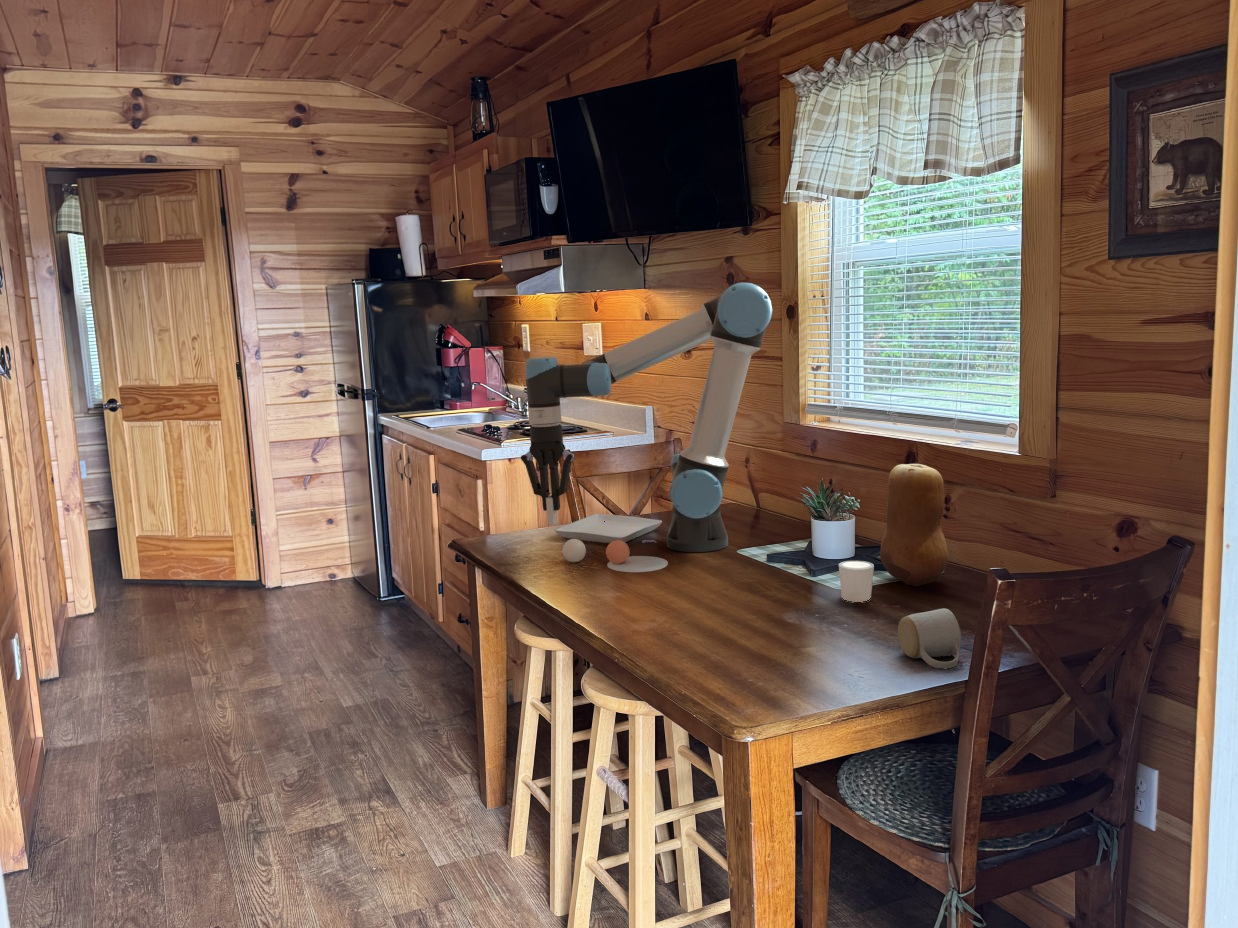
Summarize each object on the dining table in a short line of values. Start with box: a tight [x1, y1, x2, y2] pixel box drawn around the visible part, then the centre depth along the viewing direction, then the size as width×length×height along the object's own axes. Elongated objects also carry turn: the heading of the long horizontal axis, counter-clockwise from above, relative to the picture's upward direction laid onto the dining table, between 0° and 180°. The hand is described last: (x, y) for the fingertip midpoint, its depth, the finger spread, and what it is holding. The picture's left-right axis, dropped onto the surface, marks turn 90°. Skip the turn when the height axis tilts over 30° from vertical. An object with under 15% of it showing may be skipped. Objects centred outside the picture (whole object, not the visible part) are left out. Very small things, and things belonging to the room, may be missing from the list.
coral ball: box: [605, 540, 631, 564], centre depth 232 cm, size 6×6×6 cm
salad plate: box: [554, 513, 663, 545], centre depth 261 cm, size 21×21×3 cm
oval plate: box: [607, 555, 669, 573], centre depth 231 cm, size 14×14×1 cm
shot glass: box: [838, 560, 875, 603], centre depth 198 cm, size 7×7×7 cm
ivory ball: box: [562, 539, 587, 563], centre depth 234 cm, size 6×6×6 cm
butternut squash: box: [879, 463, 949, 587], centre depth 206 cm, size 14×13×25 cm
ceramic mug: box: [897, 608, 962, 669], centre depth 164 cm, size 11×8×8 cm
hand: (552, 523), depth 235 cm, fingers closed
